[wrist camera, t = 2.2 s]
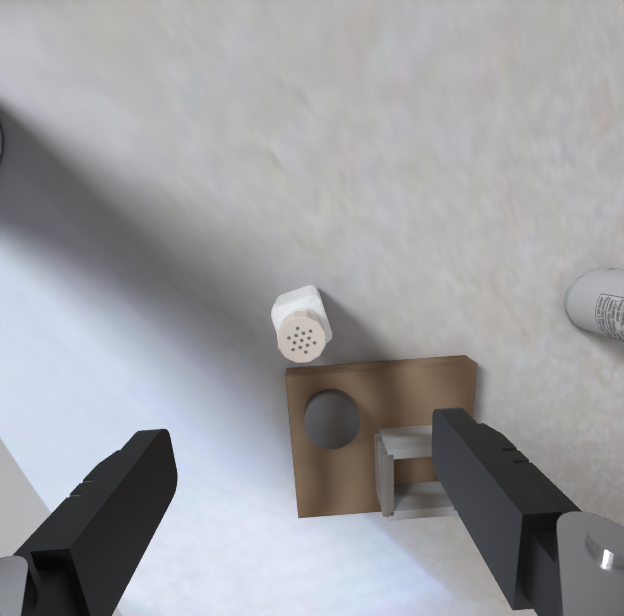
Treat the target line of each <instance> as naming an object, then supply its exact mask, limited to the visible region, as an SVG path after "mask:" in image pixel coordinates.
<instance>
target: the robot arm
mask: <svg viewBox="0 0 624 616" xmlns="http://www.w3.org/2000/svg"><path fill="white" fill-rule="evenodd" d="M1 150H2V136H1V130H0V155H1ZM432 461H433V466H434V469H435V472H436V475H437V477H438V479H439V481H440V482H441V484H442V486H443V488H444V489H445V491H446V493H447V495H448V497H449V498H450V500H451V502H452V504H453V505H454V507H455V509H456V511H457V512H458V514H459V516H460V518H461V520H462V521H463V523H464V525H465V527H466V528H467V530H468V532H469V534H470V535H471V537H472V539H473V541H474V543H475V544H476V546H477V548H478V550H479V551H480V553H481V555H482V557H483V558H484V560H485V562H486V564H487V566H488V567H489V569H490V571H491V573H492V574H493V576H494V578H495V580H496V582H497V583H498V585H499V587H500V589H501V590H502V592H503V594H504V596H505V597H506V599H507V601H508V603H509V605H510V606H511V608H512V610H522V609H534V610H535V612H536V613H537V615H538V616H624V527H623V526H621V525H620V524H618V523H616V522H613V521H611V520H609V519H607V518H604V517H601V516H598V515H595V514H591V513H586V512H582V511H581V510H580V509H579V508H578V507H577V506H576V505H575V504H574V503H573V502H572V501H571V500H570V499H569V498H568V497H567V496H566V495H565V494H563V493H562V492H561V491H560V490H559V489H558V488H557V487H556V486H555V485H554V484H553V483H552V482H551V481H550V480H549V479H548V478H547V477H546V476H545V475H544V474H543V473H542V472H541V471H540V470H539V469H538V468H537V467H536V466H535V465H534V464H533V463H530V462H529V460H528V459H527V458H526V457H525V456H524V455H523V454H522V453H521V452H520V451H517V449H516V447H515V446H514V445H513V444H512V443H511V442H510V441H509V440H508V439H507V438H506V437H505V436H504V435H503V434H501V433H500V432H498V431H496V430H494V429H493V428H491V427H489V426H487V425H486V424H484V423H481V424H477V423H476V421H475V420H474V419H473V418H472V417H471V416H470V415H469V414H468V413H467V412H466V411H465V410H464V409H463V408H461V407H454V408H441V409H435V410H434V411H433V414H432ZM177 477H178V476H177V468H176V463H175V458H174V453H173V448H172V443H171V438H170V434H169V432H168V430H167V429H156V430H142V431H138V432H136V433H135V434H134V435H133V436H132V438H131V439H130V440H129V441H128V442H127V443H126V444H125V445H124V447H123V448H122V449H121V450H117V451H116V452H115V453H113V454H112V455H110V456H109V457H107V458H106V459H105V460H103V461H102V462H100V463H99V464H98V465H97V466H96V467H95V468H94V469H93V470H92V471H91V472H90V473H89V474H88V475H87V476H86V477H85V478H84V480H83V483H80V484H79V485H78V486H77V487H76V488H75V489H74V490H73V491H72V492H71V493H70V497H69V498H66V499H65V500H64V501H63V502H62V503H61V504H60V505H59V506H58V507H57V508H56V509H55V511H54V512H53V513H52V514H51V515H50V516H49V517H48V518H47V519H46V520H45V521H44V522H43V523H42V524H41V525H40V527H39V528H38V529H37V530H36V531H35V532H34V533H33V534H32V535H31V536H30V537H29V538H28V539H27V540H26V542H25V543H24V544H23V545H22V546H21V547H20V548H19V549H18V550H17V551H16V552H15V553H14V554H13V555H12V556H7V557H3V558H0V616H112V614H113V612H114V610H115V608H116V607H117V605H118V603H119V601H120V599H121V597H122V595H123V593H124V591H125V589H126V587H127V585H128V583H129V582H130V580H131V578H132V576H133V574H134V572H135V570H136V568H137V566H138V564H139V562H140V560H141V558H142V556H143V555H144V553H145V551H146V549H147V547H148V545H149V543H150V541H151V539H152V537H153V535H154V533H155V531H156V529H157V528H158V526H159V524H160V522H161V520H162V518H163V516H164V514H165V512H166V510H167V508H168V506H169V504H170V502H171V501H172V499H173V496H174V494H175V491H176V487H177Z"/></svg>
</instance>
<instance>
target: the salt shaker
mask: <svg viewBox="0 0 624 616" xmlns="http://www.w3.org/2000/svg"><path fill="white" fill-rule="evenodd" d="M271 318H272V321H273V324H274V327H275V330H276V333H277V339H278V348H279V349H280V351H281V352H282V354H283V355H284V356H285V358H287V359H289V360H292V361H294V362H296V363H304V362H311V361H312V360H314V359H315V358H317V357H319V356H320V355H321V353H322V351H323V350H324V348H325V346H326V344H327V343H328V342H329V341H330V340H331V339H332V331H331V328H330V325H329V322H328V319H327V316H326V312H325V309H324V306H323V303H322V300H321V297H320V294H319V291H318V289H317V287H316V286H315V285H308V286H305V287H302V288H299V289H296V290H293V291H290V292H287V293H284V294H281V295H280V296H278V297H277V299H276V301H275V303H274V306H273V308H272V310H271Z"/></svg>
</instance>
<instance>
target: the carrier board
mask: <svg viewBox="0 0 624 616" xmlns="http://www.w3.org/2000/svg"><path fill="white" fill-rule="evenodd" d="M285 378H286V389H287V400H288V411H289V421H290V432H291V443H292V454H293V465H294V476H295V486H296V497H297V508H298V518H306V517H319V516H331V515H344V514H356V513H368V512H381V511H382V514H383V517H384V516H388V520H401V519H413V518H425V517H438V516H450V515H458V512H457V511H456V509H455V507H454V505H453V504H452V502H451V500H450V498H449V497H448V495H447V493H446V491H445V489H444V488H443V486H442V484H441V482H440V481H439V479H438V477H437V475H436V472H435V469H434V466H433V461H432V414H433V411H434V410H435V409H441V408H454V407H461V408H463V409H464V410H465V411H466V412H467V413H468V414H469V415H470V416H471V417H472V418H473V415H474V398H475V381H476V362H474V361H473V360H471V359H470V358H468V357H467V356H466V355H462V356H448V357H435V358H421V359H407V360H394V361H380V362H367V363H353V364H339V365H326V366H312V367H299V368H287V369H286V377H285Z"/></svg>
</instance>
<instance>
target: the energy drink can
mask: <svg viewBox="0 0 624 616" xmlns="http://www.w3.org/2000/svg"><path fill="white" fill-rule="evenodd" d="M564 306H565V310H566V312H567V314H568V315H569V317H570V319H571V320H572V322H573V323H574V324H575V325H576V326H578V327H580V328H582V329H584V330H588V331H591V332H594V333H597V334H601V335H604V336H607V337H610V338H614V339H617V340H620V341H623V342H624V269H613V268H601V269H596V270H593V271H591V272H589V273H587V274H585V275H583V276H581V277H579V278H578V279H577V280H575V281H574V282H573V283H572V284H571V285H570V287H569V289H568V290H567V293H566V295H565V299H564Z"/></svg>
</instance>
